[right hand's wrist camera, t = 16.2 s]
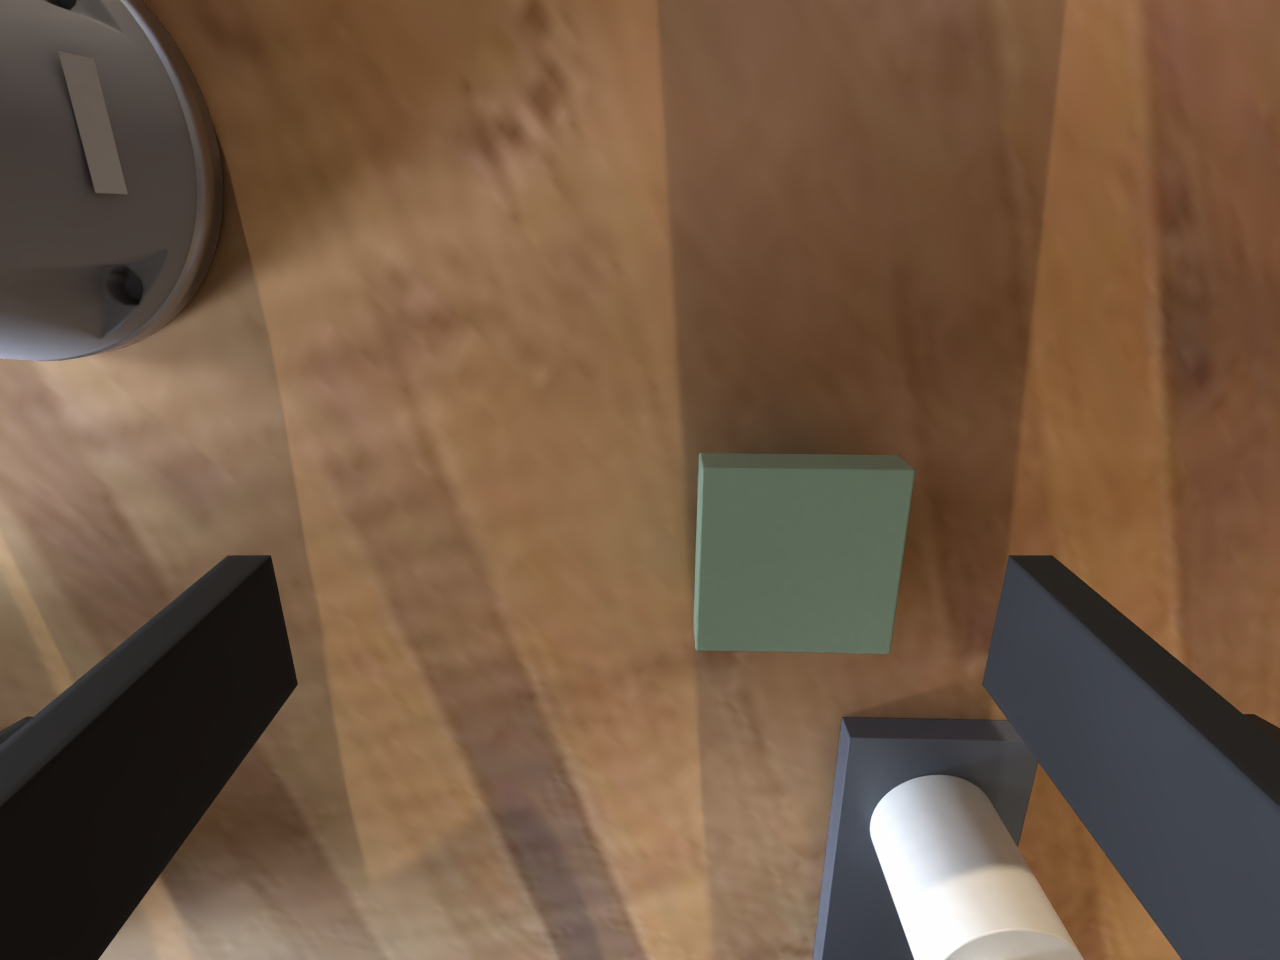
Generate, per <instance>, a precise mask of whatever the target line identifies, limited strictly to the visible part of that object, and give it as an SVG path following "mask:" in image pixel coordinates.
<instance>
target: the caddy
mask: <svg viewBox="0 0 1280 960" xmlns="http://www.w3.org/2000/svg"><path fill="white" fill-rule="evenodd" d="M1037 764H1038V761H1037V759H1036V758H1035V756H1034V755H1033V754H1032V752H1031V751H1030V750H1029V748H1028V747H1027V745H1026V744H1025V743H1024V741H1023V740H1022V739H1021V737H1020V736H1019V734H1018V733H1017V732H1016V730H1015V729H1014V728H1013V726H1012V725H1011V723H1010V722H1009V721H1003V720H954V719H906V718H857V717H842V722H841V730H840V739H839V747H838V755H837V763H836V772H835V780H834V788H833V797H832V805H831V813H830V821H829V830H828V838H827V846H826V854H825V863H824V871H823V879H822V887H821V896H820V904H819V912H818V921H817V929H816V937H815V945H814V954H813V960H1084V959H1083V957H1082V956H1081V954H1080V952H1079V951H1078V949H1077V947H1076V946H1075V944H1074V942H1073V940H1072V939H1071V937H1070V935H1069V934H1068V932H1067V930H1066V929H1065V927H1064V925H1063V924H1062V922H1061V920H1060V918H1059V917H1058V915H1057V913H1056V912H1055V910H1054V908H1053V907H1052V905H1051V903H1050V902H1049V900H1048V898H1047V896H1046V895H1045V893H1044V891H1043V890H1042V888H1041V886H1040V885H1039V883H1038V881H1037V879H1036V878H1035V876H1034V874H1033V873H1032V871H1031V869H1030V868H1029V866H1028V864H1027V863H1026V861H1025V859H1024V857H1023V856H1022V854H1021V852H1020V851H1019V849H1018V845H1019V840H1020V836H1021V832H1022V828H1023V824H1024V819H1025V815H1026V811H1027V807H1028V802H1029V798H1030V794H1031V790H1032V785H1033V781H1034V777H1035V773H1036V768H1037Z"/></svg>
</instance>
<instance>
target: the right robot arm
mask: <svg viewBox="0 0 1280 960" xmlns="http://www.w3.org/2000/svg"><path fill="white" fill-rule="evenodd" d="M222 214H223V174H222V167H221V159H220V152H219V148H218V143H217V138H216V134H215V130H214V127H213V124H212V120H211V117H210V114H209V110H208V108H207V105H206V103H205V100H204V98H203V95H202V93H201V90H200V88H199V86H198V84H197V82H196V80H195V78H194V75H193V73H192V71H191V69H190V67H189V65H188V64H187V62H186V60H185V59H184V57H183V55H182V54H181V52H180V50H179V48H178V47H177V45H176V44H175V42H174V41H173V39H172V38H171V36H170V35H169V34H168V32H167V31H166V29H165V28H164V26H163V25H162V24H161V22H160V21H159V20H158V19H157V18H156V16H155V15H154V14H153V13H152V11H151V10H150V9H149V8H148V7H147V5H146V4H145V3H144V2H143V1H142V0H0V358H6V359H15V360H34V361H55V360H66V359H73V358H80V357H85V356H89V355H94V354H99V353H104V352H108V351H112V350H116V349H120V348H124V347H126V346H129V345H131V344H134V343H137V342H139V341H141V340H143V339H145V338H147V337H149V336H150V335H152V334H154V333H155V332H157V331H158V330H160V329H161V328H163V327H164V326H165V325H167V324H168V323H169V322H170V321H171V320H173V319H174V318H175V317H176V316H177V315H178V314H179V313H180V312H181V311H182V310H183V309H184V307H185V306H186V305H187V304H188V303H189V302H190V301H191V299H192V298H193V296H194V295H195V293H196V292H197V290H198V289H199V287H200V286H201V284H202V282H203V280H204V278H205V276H206V274H207V272H208V270H209V267H210V265H211V262H212V259H213V257H214V254H215V251H216V247H217V243H218V239H219V235H220V229H221V222H222ZM297 685H298V683H297V679H296V674H295V669H294V664H293V659H292V655H291V650H290V645H289V640H288V635H287V630H286V626H285V621H284V616H283V611H282V606H281V602H280V597H279V592H278V587H277V582H276V578H275V573H274V568H273V563H272V558H271V556H227V557H225V558H224V559H223V560H222V561H221V562H219V563H218V564H217V565H216V566H215V567H213V568H212V569H211V570H210V571H209V572H207V573H206V574H205V575H204V576H203V577H201V578H200V579H199V580H198V581H197V582H195V583H194V584H193V585H192V586H191V587H189V588H188V589H187V590H186V591H185V592H183V593H182V594H181V595H180V596H179V597H177V598H176V599H175V600H174V601H173V602H171V603H170V604H169V605H168V606H167V607H165V608H164V609H163V610H162V611H161V612H159V613H158V614H157V615H156V616H155V617H153V618H152V619H151V620H150V621H149V622H147V623H146V624H145V625H144V626H143V627H141V628H140V629H139V630H138V631H137V632H135V633H134V634H133V635H132V636H131V637H129V638H128V639H127V640H126V641H125V642H123V643H122V644H121V645H120V646H119V647H117V648H116V649H115V650H114V651H112V652H111V653H110V654H109V655H108V656H106V657H105V658H104V659H103V660H102V661H100V662H99V663H98V664H97V665H96V666H94V667H93V668H92V669H91V670H90V671H88V672H87V673H86V674H85V675H84V676H82V677H81V678H80V679H79V680H78V681H76V682H75V683H74V684H73V685H72V686H70V687H69V688H68V689H67V690H66V691H64V692H63V693H62V694H61V695H60V696H58V697H57V698H56V699H55V700H54V701H52V702H51V703H50V704H49V705H48V706H46V707H45V708H44V709H43V710H42V711H40V712H39V713H38V714H37V715H36V716H34V717H26V718H24V719H22V720H20V721H18V722H16V723H15V724H13V725H11V726H9V727H7V728H6V729H4V730H2V731H0V960H98V959H99V958H100V956H101V955H102V954H103V952H104V951H105V949H106V948H107V947H108V945H109V944H110V943H111V941H112V940H113V938H114V937H115V936H116V934H117V933H118V932H119V930H120V929H121V927H122V926H123V925H124V923H125V922H126V920H127V919H128V918H129V916H130V915H131V914H132V912H133V911H134V909H135V908H136V907H137V905H138V904H139V903H140V901H141V900H142V898H143V897H144V896H145V894H146V893H147V892H148V890H149V889H150V887H151V886H152V885H153V883H154V882H155V881H156V879H157V878H158V876H159V875H160V874H161V872H162V871H163V869H164V868H165V867H166V865H167V864H168V863H169V861H170V860H171V858H172V857H173V856H174V854H175V853H176V852H177V850H178V849H179V847H180V846H181V845H182V843H183V842H184V841H185V839H186V838H187V836H188V835H189V834H190V832H191V831H192V830H193V828H194V827H195V825H196V824H197V823H198V821H199V820H200V818H201V817H202V816H203V814H204V813H205V812H206V810H207V809H208V807H209V806H210V805H211V803H212V802H213V801H214V799H215V798H216V796H217V795H218V794H219V792H220V791H221V790H222V788H223V787H224V785H225V784H226V783H227V781H228V780H229V779H230V777H231V776H232V774H233V773H234V772H235V770H236V769H237V767H238V766H239V765H240V763H241V762H242V761H243V759H244V758H245V756H246V755H247V754H248V752H249V751H250V750H251V748H252V747H253V745H254V744H255V743H256V741H257V740H258V739H259V737H260V736H261V734H262V733H263V732H264V730H265V729H266V728H267V726H268V725H269V723H270V722H271V721H272V719H273V718H274V716H275V715H276V714H277V712H278V711H279V710H280V708H281V707H282V705H283V704H284V703H285V701H286V700H287V699H288V697H289V696H290V694H291V693H292V692H293V690H294V689H295V688H296V686H297ZM982 685H983V686H984V688H985V689H986V690H987V692H988V693H989V694H990V696H991V697H992V699H993V700H994V701H995V703H996V704H997V705H998V707H999V708H1000V710H1001V711H1002V712H1003V714H1004V715H1005V716H1006V718H1007V719H1008V721H1009V722H1010V723H1011V725H1012V726H1013V728H1014V729H1015V730H1016V732H1017V733H1018V734H1019V736H1020V737H1021V739H1022V740H1023V741H1024V743H1025V744H1026V745H1027V747H1028V748H1029V750H1030V751H1031V752H1032V754H1033V755H1034V756H1035V758H1036V759H1037V761H1038V762H1039V763H1040V765H1041V766H1042V767H1043V769H1044V770H1045V772H1046V773H1047V774H1048V776H1049V777H1050V779H1051V780H1052V781H1053V783H1054V784H1055V785H1056V787H1057V788H1058V790H1059V791H1060V792H1061V794H1062V795H1063V796H1064V798H1065V799H1066V801H1067V802H1068V803H1069V805H1070V806H1071V807H1072V809H1073V810H1074V812H1075V813H1076V814H1077V816H1078V817H1079V818H1080V820H1081V821H1082V823H1083V824H1084V825H1085V827H1086V828H1087V830H1088V831H1089V832H1090V834H1091V835H1092V836H1093V838H1094V839H1095V841H1096V842H1097V843H1098V845H1099V846H1100V847H1101V849H1102V850H1103V852H1104V853H1105V854H1106V856H1107V857H1108V858H1109V860H1110V861H1111V863H1112V864H1113V865H1114V867H1115V868H1116V869H1117V871H1118V872H1119V874H1120V875H1121V876H1122V878H1123V879H1124V881H1125V882H1126V883H1127V885H1128V886H1129V887H1130V889H1131V890H1132V892H1133V893H1134V894H1135V896H1136V897H1137V898H1138V900H1139V901H1140V903H1141V904H1142V905H1143V907H1144V908H1145V909H1146V911H1147V912H1148V914H1149V915H1150V916H1151V918H1152V919H1153V920H1154V922H1155V923H1156V925H1157V926H1158V927H1159V929H1160V930H1161V932H1162V933H1163V934H1164V936H1165V937H1166V938H1167V940H1168V941H1169V943H1170V944H1171V945H1172V947H1173V948H1174V949H1175V951H1176V952H1177V954H1178V955H1179V956H1180V958H1181V959H1182V960H1280V728H1278V727H1276V726H1275V725H1273V724H1271V723H1269V722H1267V721H1265V720H1264V719H1262V718H1260V717H1258V716H1256V715H1254V714H1242V713H1241V712H1240V711H1238V710H1237V709H1236V708H1235V707H1234V706H1232V705H1231V704H1230V703H1229V702H1228V701H1226V700H1225V699H1224V698H1223V697H1222V696H1220V695H1219V694H1218V693H1217V692H1216V691H1214V690H1213V689H1212V688H1211V687H1210V686H1208V685H1207V684H1206V683H1205V682H1204V681H1202V680H1201V679H1200V678H1199V677H1198V676H1196V675H1195V674H1194V673H1193V672H1192V671H1190V670H1189V669H1188V668H1187V667H1186V666H1184V665H1183V664H1182V663H1181V662H1180V661H1178V660H1177V659H1176V658H1175V657H1174V656H1172V655H1171V654H1170V653H1169V652H1168V651H1166V650H1165V649H1164V648H1163V647H1161V646H1160V645H1159V644H1158V643H1157V642H1155V641H1154V640H1153V639H1152V638H1151V637H1149V636H1148V635H1147V634H1146V633H1145V632H1143V631H1142V630H1141V629H1140V628H1139V627H1137V626H1136V625H1135V624H1134V623H1133V622H1131V621H1130V620H1129V619H1128V618H1127V617H1125V616H1124V615H1123V614H1122V613H1121V612H1119V611H1118V610H1117V609H1116V608H1115V607H1113V606H1112V605H1111V604H1110V603H1109V602H1107V601H1106V600H1105V599H1104V598H1103V597H1101V596H1100V595H1099V594H1098V593H1097V592H1095V591H1094V590H1093V589H1092V588H1091V587H1089V586H1088V585H1087V584H1086V583H1085V582H1083V581H1082V580H1081V579H1080V578H1079V577H1077V576H1076V575H1075V574H1074V573H1073V572H1071V571H1070V570H1069V569H1068V568H1067V567H1065V566H1064V565H1063V564H1062V563H1061V562H1059V561H1058V560H1057V559H1056V558H1054V557H1053V556H1009V558H1008V563H1007V568H1006V573H1005V578H1004V582H1003V587H1002V592H1001V597H1000V602H999V606H998V611H997V616H996V621H995V626H994V630H993V635H992V640H991V645H990V650H989V655H988V659H987V664H986V669H985V674H984V679H983V683H982Z"/></svg>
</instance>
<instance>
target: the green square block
mask: <svg viewBox="0 0 1280 960" xmlns="http://www.w3.org/2000/svg"><path fill="white" fill-rule="evenodd" d="M914 476H915V470H914V469H913V468H912V467H911V466H910V465H909V464H908V463H907V462H906V461H904V460H903V459H902V458H901V457H900V456H899V455H859V454H762V453H700V454H699V469H698V499H697V530H696V560H695V591H694V621H693V627H694V638H695V648H696V650H697V651H742V652H804V653H867V654H889V653H890V649H891V642H892V635H893V627H894V620H895V613H896V606H897V599H898V591H899V584H900V577H901V570H902V563H903V556H904V548H905V541H906V534H907V527H908V520H909V512H910V505H911V498H912V491H913V484H914Z"/></svg>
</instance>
